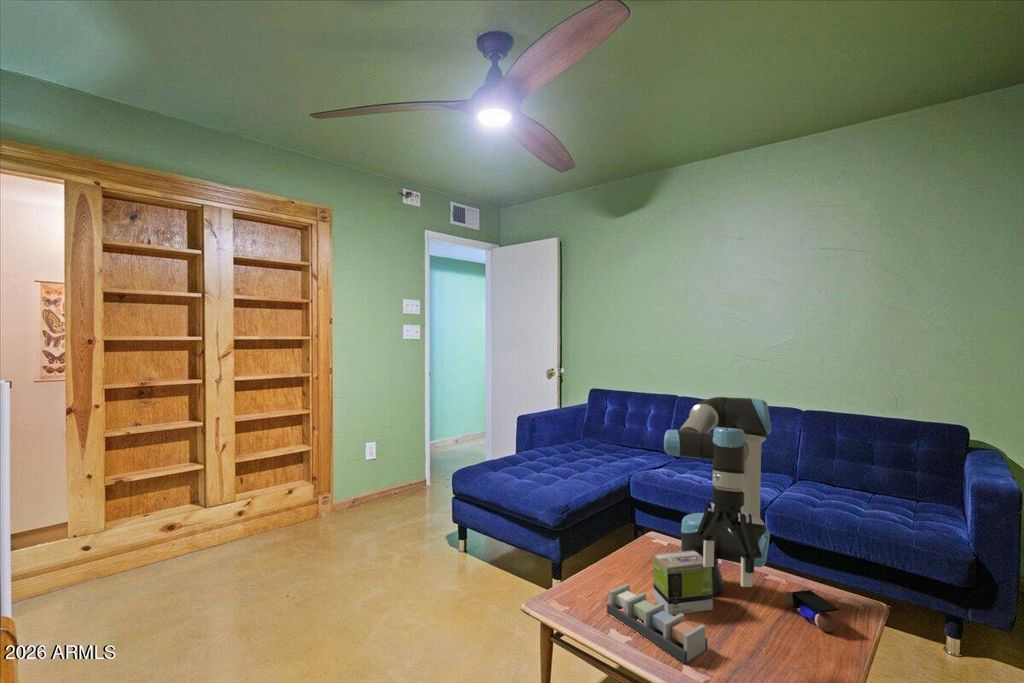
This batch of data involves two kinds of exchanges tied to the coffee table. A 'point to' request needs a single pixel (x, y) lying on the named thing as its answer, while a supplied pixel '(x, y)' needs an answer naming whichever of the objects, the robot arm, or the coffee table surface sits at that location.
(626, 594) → the ivory key
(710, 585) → the tea box
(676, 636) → the terracotta key
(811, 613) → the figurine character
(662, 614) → the slate key
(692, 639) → the keypad base
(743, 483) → the robot arm
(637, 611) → the sage key
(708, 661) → the coffee table surface
